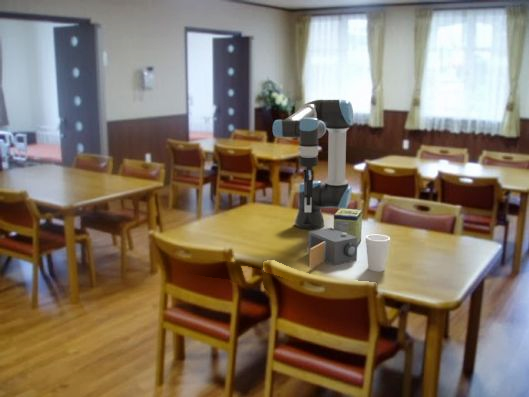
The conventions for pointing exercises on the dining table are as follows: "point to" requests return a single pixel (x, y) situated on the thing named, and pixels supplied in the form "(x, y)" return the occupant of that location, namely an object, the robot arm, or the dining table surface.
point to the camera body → (334, 245)
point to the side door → (317, 254)
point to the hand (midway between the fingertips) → (307, 211)
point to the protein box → (349, 222)
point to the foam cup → (377, 251)
